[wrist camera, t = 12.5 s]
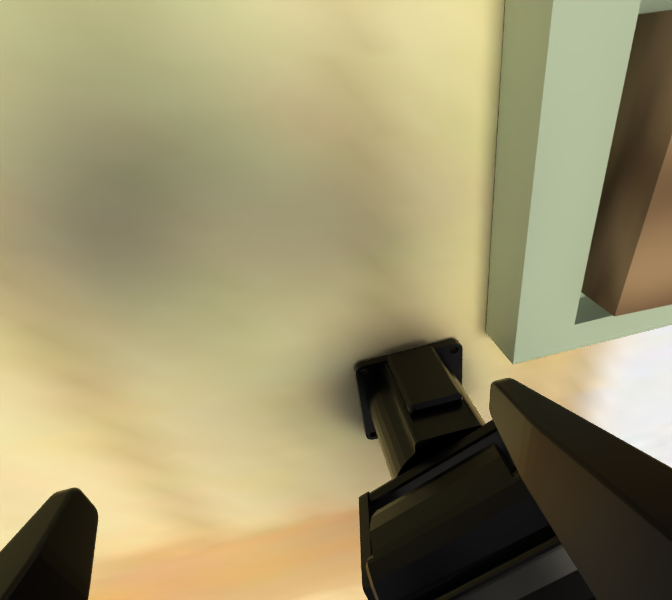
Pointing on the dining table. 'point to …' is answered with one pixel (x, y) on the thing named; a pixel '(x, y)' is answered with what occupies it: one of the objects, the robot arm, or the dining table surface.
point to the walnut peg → (638, 183)
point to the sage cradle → (556, 172)
